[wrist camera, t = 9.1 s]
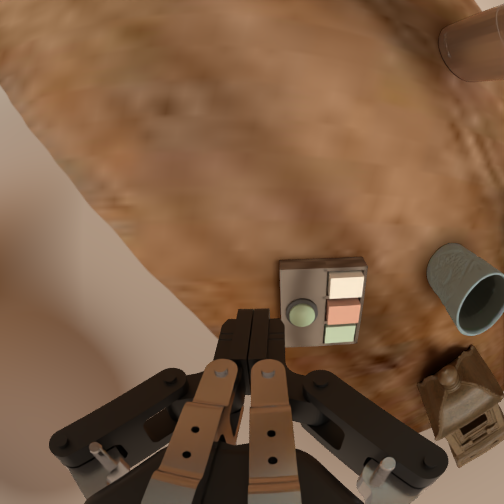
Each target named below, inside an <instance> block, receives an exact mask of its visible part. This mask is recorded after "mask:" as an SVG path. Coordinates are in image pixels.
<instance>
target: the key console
mask: <svg viewBox="0 0 504 504" xmlns="http://www.w3.org/2000/svg"><path fill="white" fill-rule="evenodd" d="M367 268H368V266H367V264H366V262H365V261H364V259H363V257H350V258H325V259H298V260H280V294H281V320H282V322H283V323H284V325H285V347H307V346H326V345H341V344H354V343H357V340H358V334H359V328H360V322H361V315H362V309H363V302H364V294H365V286H366V278H367ZM350 270H361V271H362V273H363V275H364V283H363V291H362V297H358V299H359V302H360V304H361V307H360V314H359V321H358V323H355V325H356V327H355V333H354V340H353V341H352V342H339V343H325V342H324V336H323V331H324V324H327V320H326V301H327V299H329V295H328V291H327V284H328V271H350Z"/></svg>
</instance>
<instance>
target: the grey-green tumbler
mask: <svg viewBox="0 0 504 504" xmlns="http://www.w3.org/2000/svg"><path fill="white" fill-rule="evenodd" d="M427 279H428V282H429V284H430V286H431V287H432V289H433V290H434V292H435V293H436V294H437V295H438V296H439V298H440V300H441V301H442V304H443V305H444V306H445V307H446V310H447V312H448V313H449V315H450V317H451V318H452V320H453V321H454V323H455V325H456V327H457V328H458V330H459V331H460V332H461V333H462V334H464V335H468V336H474V335H478V334H480V333H482V332H484V331H486V330H487V329H489V328H490V327H491V326H492V325H493V324H495V322H496V321H497V320H498V319H499V318H500V316H501V315H502V313H503V312H504V274H503V273H502V272H500V271H499V270H497V269H496V268H494V267H493V266H491V265H490V264H489V263H487V262H486V261H484V260H483V259H482V258H480V257H477V256H476V255H475V254H474V253H472V252H471V251H469V250H467V249H466V248H465V247H463V246H462V245H460V244H457V243H448V244H446V245H444V246H442V247H441V248H440V249H438V250H437V251H436V252H435V253H434V255H433V256H432V257H431V259H430V261H429V264H428V267H427Z"/></svg>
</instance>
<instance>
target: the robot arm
mask: <svg viewBox="0 0 504 504" xmlns="http://www.w3.org/2000/svg"><path fill="white" fill-rule="evenodd" d="M439 48H440V52H441V55H442V58H443V60H444V61H445V63H446V65H447V66H448V67H449V69H450V70H451V71H452V72H453V73H454V74H455V75H456V76H458V77H459V78H460V79H462V80H464V81H468V82H478V81H492V80H504V4H502V5H500V6H497V7H493V8H491V9H488V10H485V11H483V12H480V13H478V14H475V15H473V16H470V17H468V18H465V19H463V20H460V21H458V22H456V23H453V24H451V25H449V26H447V27H445V28H444V29H443V30H442V31H441V33H440V35H439ZM245 395H251V407H250V420H249V422H250V424H249V425H250V426H249V427H250V428H249V430H250V431H249V443H248V444H242V445H236V442H237V437H238V432H239V428H240V424H241V419H242V414H243V410H244V405H243V404H244V399H245V398H244V397H245ZM164 408H165V409H164ZM161 410H162V411H161ZM158 412H159V413H158ZM155 414H156V415H155ZM153 415H154V416H153ZM152 416H153V417H152ZM150 417H151V418H150ZM149 418H150V419H149ZM147 419H148V420H147ZM292 421H296V422H300V423H301V425H302V427H303V428H304V429H305V430H306V431H307V432H308V433H310V434H311V435H312V436H313V437H314V438H315V439H316V440H317V441H319V442H320V443H321V444H322V445H323V446H324V447H325V448H326V449H328V450H329V451H330V452H331V453H332V454H334V455H335V456H336V457H337V458H338V459H339V460H341V461H342V462H343V463H344V464H345V465H347V466H348V467H349V468H350V469H352V470H353V471H354V472H355V473H356V474H358V475H359V477H358V480H357V489H358V491H359V493H360V494H361V495H362V496H363V497H364V500H365V504H410V503H411V502H412V501H414V500H415V499H416V498H417V497H418V496H419V495H420V494H422V493H423V492H424V491H425V490H426V489H427V488H428V487H429V486H430V485H431V484H432V483H434V482H435V481H436V480H437V479H438V478H439V477H440V476H441V475H442V474H443V473H444V471H445V470H446V468H447V466H448V456H447V454H446V452H445V451H444V450H443V449H442V448H440V447H439V446H437V445H436V444H434V443H433V442H431V441H429V440H428V439H426V438H425V437H423V436H422V435H420V434H419V433H417V432H416V431H414V430H413V429H411V428H410V427H408V426H407V425H405V424H404V423H402V422H401V421H399V420H398V419H396V418H395V417H393V416H392V415H391V414H389V413H388V412H386V411H385V410H383V409H382V408H380V407H379V406H378V405H376V404H375V403H373V402H372V401H370V400H369V399H368V398H366V397H365V396H363V395H362V394H360V393H359V392H358V391H356V390H355V389H354V388H352V387H351V386H349V385H348V384H347V383H345V382H344V381H342V380H341V379H340V378H338V377H337V376H336V375H334V374H333V373H331V372H329V371H326V370H316V371H312V372H310V373H308V374H307V375H306V376H304V375H299V374H296V373H294V372H292V371H291V370H289V369H288V368H287V366H286V363H285V325H284V323H283V322H282V320H281V319H280V318H277V319H270V310H269V309H238V313H237V318H236V319H228V320H227V321H226V322H225V323H224V324H223V325H222V328H221V332H220V336H219V340H218V344H217V348H216V352H215V356H214V359H213V361H212V362H210V363H209V364H208V365H207V366H206V368H205V370H204V371H203V372H200V373H197V374H191V375H186V374H185V373H184V372H183V371H182V370H180V369H177V368H168V369H165V370H163V371H161V372H159V373H157V374H156V375H154V376H153V377H151V378H149V379H148V380H146V381H144V382H143V383H141V384H139V385H138V386H136V387H134V388H133V389H131V390H129V391H128V392H126V393H124V394H123V395H121V396H119V397H118V398H116V399H114V400H112V401H111V402H109V403H107V404H106V405H104V406H102V407H101V408H99V409H97V410H95V411H93V412H92V413H90V414H88V415H86V416H85V417H83V418H81V419H79V420H77V421H76V422H74V423H72V424H70V425H68V426H66V427H64V428H63V429H61V430H59V431H57V432H56V433H55V434H53V435H52V437H51V439H50V441H49V448H50V450H51V452H52V453H53V454H54V455H55V456H56V457H57V458H58V459H59V460H60V461H61V463H62V464H63V465H64V466H65V467H66V468H67V469H69V471H70V473H71V474H72V476H73V478H74V480H75V481H76V483H77V485H78V487H79V488H80V490H81V492H82V493H83V495H84V497H85V498H86V502H85V503H84V504H364V503H363V502H362V501H361V500H360V499H359V498H357V497H356V496H355V495H354V494H353V493H352V492H351V491H350V490H348V489H347V488H346V487H345V486H344V485H343V484H342V483H341V482H340V481H339V480H338V479H336V478H335V477H334V476H333V475H332V474H331V473H330V472H329V471H328V470H327V469H326V468H325V467H324V466H323V465H322V464H321V463H320V462H319V461H317V460H316V459H315V458H314V457H313V456H311V455H310V454H308V453H306V452H303V451H301V450H299V449H295V441H294V432H293V423H292ZM167 443H169V445H168V446H167V447H165V448H163V449H161V450H160V451H158V452H157V453H156V454H154V455H153V456H151V457H150V458H148V459H147V460H145V461H144V462H143V463H141V464H140V465H139V466H137V467H135V468H134V469H132V470H131V471H130V468H131V467H132V466H134V465H136V464H137V463H139V462H140V461H142V460H143V459H145V458H146V457H148V456H150V455H151V454H153V453H154V452H156V451H157V450H159V449H160V448H162V447H163V446H165V445H166V444H167Z"/></svg>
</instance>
